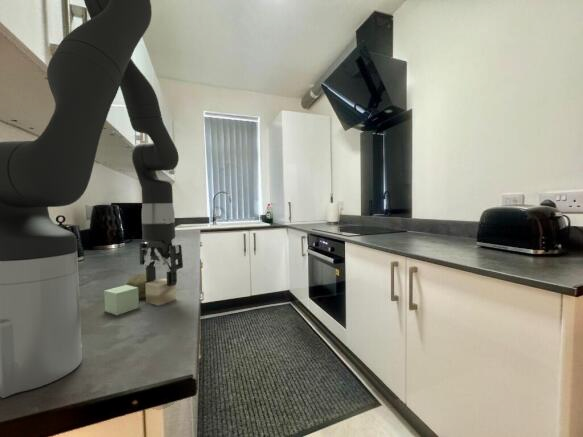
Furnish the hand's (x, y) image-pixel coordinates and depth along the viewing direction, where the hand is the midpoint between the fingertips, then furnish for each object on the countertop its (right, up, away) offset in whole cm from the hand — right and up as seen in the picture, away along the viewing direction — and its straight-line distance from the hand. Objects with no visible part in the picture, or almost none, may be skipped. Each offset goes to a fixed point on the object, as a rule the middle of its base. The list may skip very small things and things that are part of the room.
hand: (161, 283), depth 67 cm
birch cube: (0, -5, 0) cm, 5 cm away
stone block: (-9, -5, +6) cm, 12 cm away
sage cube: (-6, -5, -6) cm, 10 cm away
